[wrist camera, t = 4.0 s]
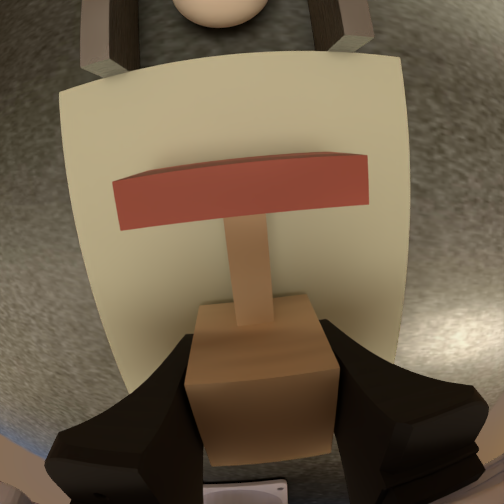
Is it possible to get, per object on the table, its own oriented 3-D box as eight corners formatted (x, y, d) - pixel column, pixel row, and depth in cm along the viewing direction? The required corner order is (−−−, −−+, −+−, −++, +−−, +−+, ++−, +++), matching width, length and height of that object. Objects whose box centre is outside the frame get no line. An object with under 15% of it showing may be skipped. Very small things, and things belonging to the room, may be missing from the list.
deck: (372, 402, 17) (381, 419, 15) (157, 426, 16) (153, 445, 15) (383, 65, 11) (400, 57, 10) (75, 96, 11) (58, 92, 9)
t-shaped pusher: (329, 371, 13) (358, 446, 9) (193, 386, 13) (182, 466, 9) (328, 151, 10) (385, 157, 6) (148, 170, 10) (95, 187, 6)
